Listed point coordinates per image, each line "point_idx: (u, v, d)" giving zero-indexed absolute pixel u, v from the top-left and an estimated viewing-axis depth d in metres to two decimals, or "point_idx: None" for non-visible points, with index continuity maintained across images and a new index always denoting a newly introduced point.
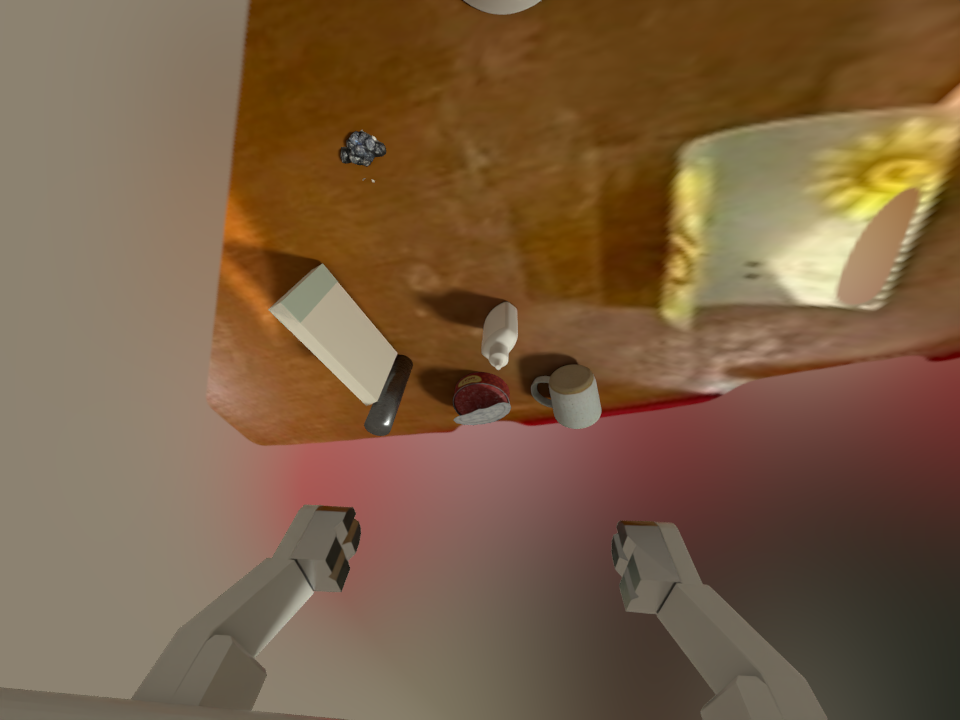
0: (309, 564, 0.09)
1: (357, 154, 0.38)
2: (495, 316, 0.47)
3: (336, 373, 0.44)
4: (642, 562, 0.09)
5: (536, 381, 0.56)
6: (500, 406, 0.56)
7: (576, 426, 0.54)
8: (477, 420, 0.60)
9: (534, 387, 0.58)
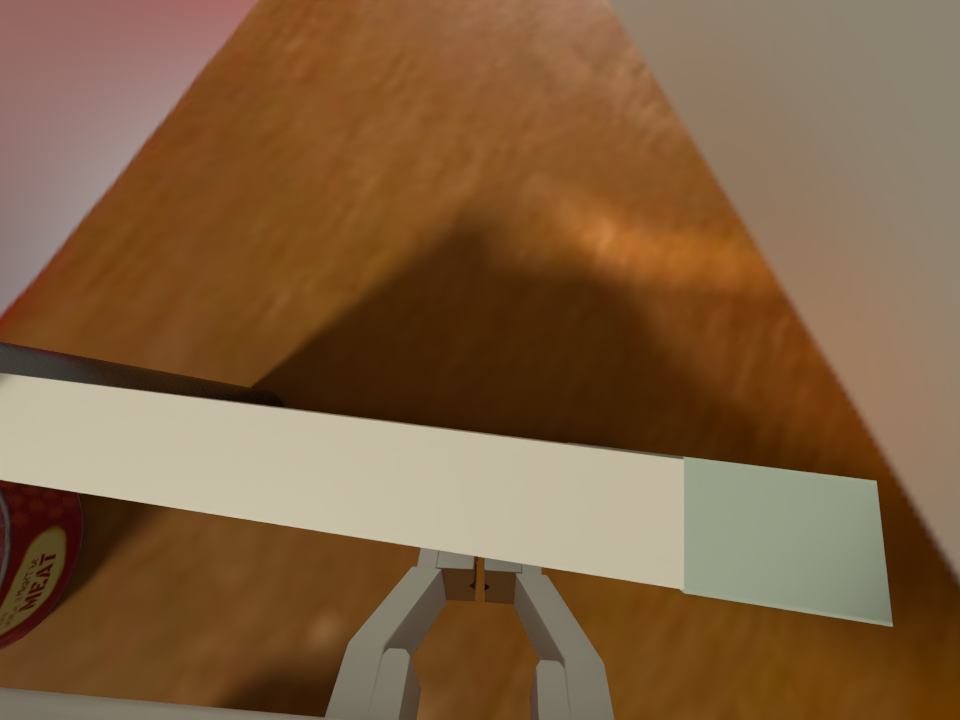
0: (453, 573, 0.09)
1: None
2: None
3: (255, 423, 0.06)
4: None
5: None
6: None
7: None
8: None
9: None
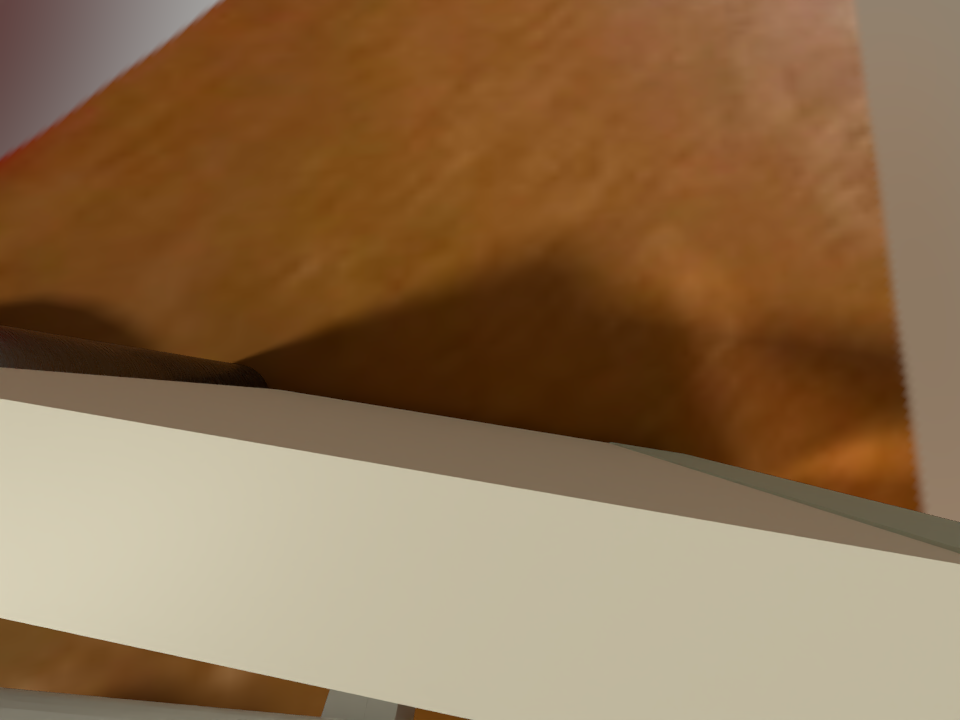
0: None
1: None
2: None
3: (188, 465, 0.03)
4: None
5: None
6: None
7: None
8: None
9: None
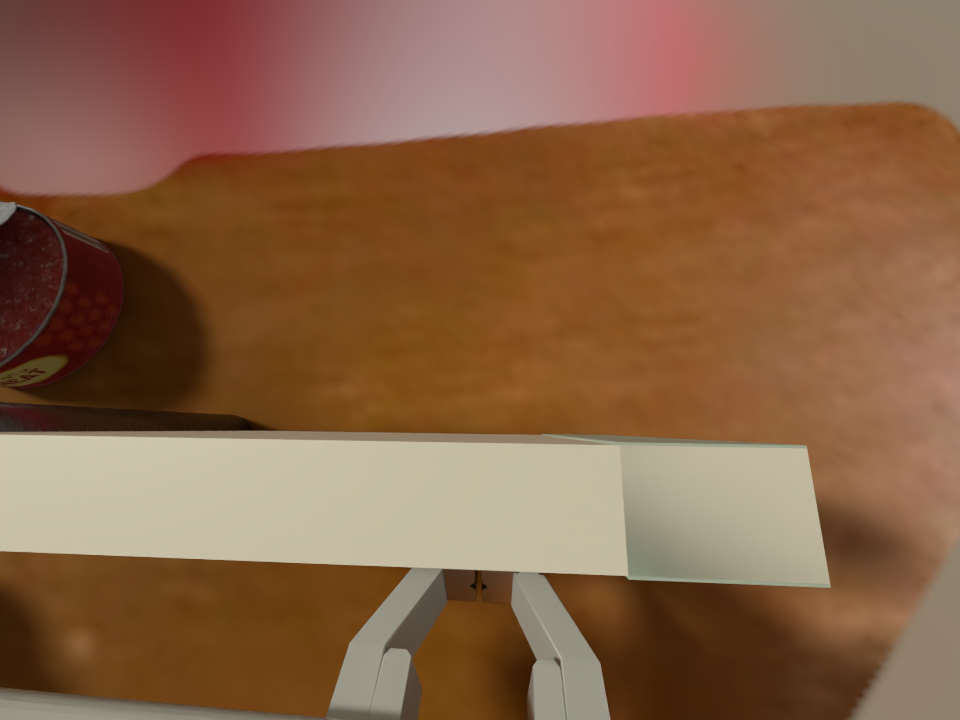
0: (454, 573, 0.09)
1: None
2: None
3: (181, 456, 0.06)
4: None
5: None
6: None
7: None
8: None
9: None
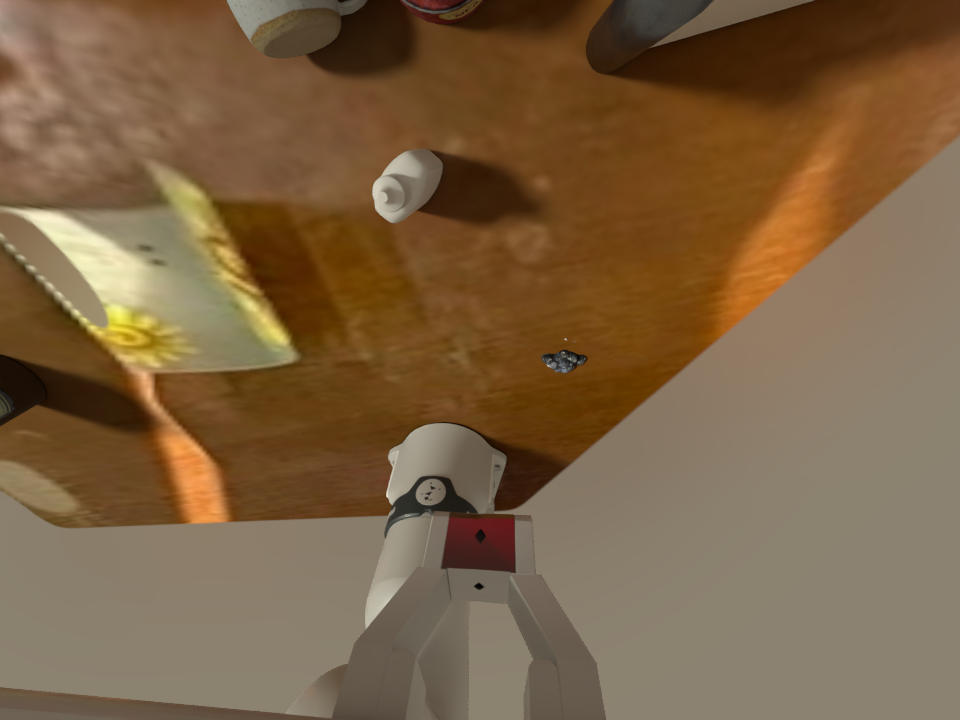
0: (458, 573, 0.09)
1: (566, 363, 0.42)
2: (421, 205, 0.32)
3: None
4: (486, 553, 0.09)
5: None
6: None
7: None
8: None
9: None
